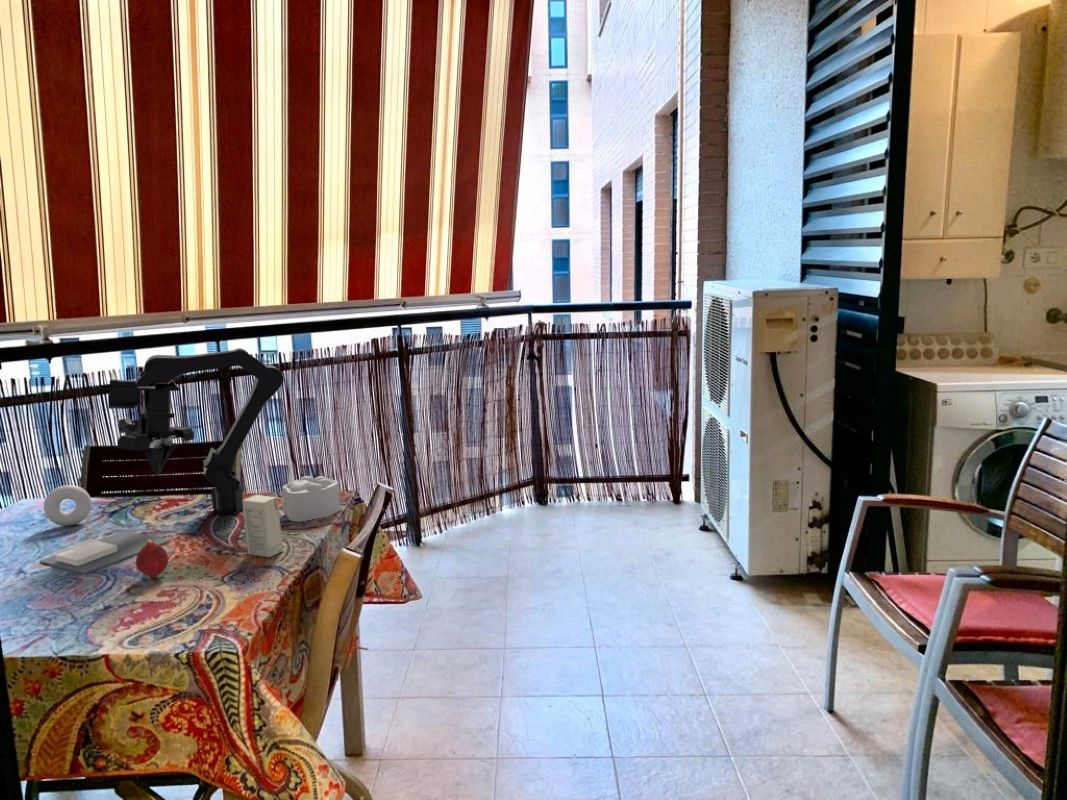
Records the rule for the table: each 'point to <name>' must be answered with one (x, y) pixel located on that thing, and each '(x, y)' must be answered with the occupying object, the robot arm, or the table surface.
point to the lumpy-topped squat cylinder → (310, 498)
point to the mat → (126, 548)
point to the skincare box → (262, 525)
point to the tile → (86, 553)
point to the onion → (152, 559)
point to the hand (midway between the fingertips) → (156, 473)
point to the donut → (61, 494)
